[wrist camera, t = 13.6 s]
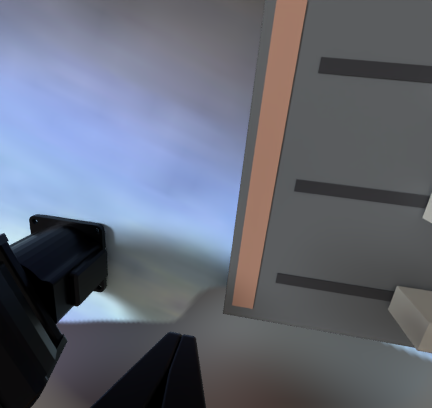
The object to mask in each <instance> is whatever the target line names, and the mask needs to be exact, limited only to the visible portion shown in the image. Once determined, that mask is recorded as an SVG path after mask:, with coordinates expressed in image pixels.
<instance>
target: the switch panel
mask: <svg viewBox="0 0 432 408" xmlns="http://www.w3.org/2000/svg"><path fill="white" fill-rule="evenodd" d="M431 194H432V0H265V7H264V14H263V21H262V29H261V36H260V44H259V51H258V58H257V66H256V73H255V81H254V88H253V95H252V103H251V110H250V118H249V125H248V132H247V140H246V147H245V155H244V162H243V170H242V177H241V184H240V192H239V199H238V207H237V214H236V221H235V229H234V236H233V244H232V251H231V258H230V266H229V273H228V281H227V288H226V296H225V303H224V310H223V314H228V315H234V316H240V317H245V318H251V319H257V320H262V321H268V322H273V323H280V324H285V325H290V326H296V327H302V328H308V329H313V330H319V331H324V332H330V333H335V334H342V335H347V336H353V337H358V338H364V339H370V340H375V341H381V342H386V343H392V344H397V345H403V346H409V347H414V345H413V344H412V343H411V341H410V340H409V338H408V337H407V336H406V334H405V333H404V331H403V330H402V329H401V327H400V326H399V324H398V323H397V322H396V320H395V319H394V317H393V316H392V315H391V313H390V312H389V310H388V308H389V305H390V303H391V300H392V298H393V295H394V292H395V290H396V287H397V286H402V287H408V288H415V289H421V290H427V291H432V223H430V222H429V221H427V220H425V219H423V215H424V212H425V210H426V207H427V204H428V202H429V199H430V196H431ZM414 348H415V347H414Z"/></svg>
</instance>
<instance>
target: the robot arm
mask: <svg viewBox="0 0 432 408" xmlns="http://www.w3.org/2000/svg"><path fill="white" fill-rule="evenodd" d="M36 220H37V221H36ZM29 222H30V230H31V235H29V236H27V237H25V238H23V239H21V240H19V241H17V242H15V243H13V244H11V245H9V244H8V242H7V241H9V240H8V239H7V237H6V235H5V234H4V233H3V234H0V408H30V407H32V406H33V404H34V403H35V402H36V400H37V399H38V398H39V396H40V394H41V393H42V391H43V389H44V388H45V386H46V383H47V382H48V380H49V377H50V375H51V373H52V371H53V369H54V367H55V365H56V363H57V361H58V359H59V357H60V355H61V353H62V351H63V349H64V347H65V345H66V343H67V339H66V337H65V336H64V334H61V332H60V331H59V329H58V327H57V325H56V324H57V323H58V322H59V320H60V319H61V318H62V317H63V316H64V315H65V314H66V313H67V312H68V311H69V310H70V309H71V308H72V307H73V306H79V305H80V304H81V303H82V302H83V301H84V300H85V299H86V298H87V297H88V296H89V295H90V294H91V293H92V292H93V291H96V292H102V291H103V290H104V289H105V288H106V286H107V284H106V277H107V275H108V273H107V251H106V249H105V230H104V227H103V226H102V225H101V224H98V223H91V222H85V221H78V220H71V219H65V218H58V217H52V216H45V215H38V214H36V215H33V216H31V217H30V219H29ZM96 228H97V229H98V230H99V232H98V231H97V230H96ZM99 285H100V286H101V287H100V286H99ZM90 408H206V405H205V398H204V391H203V384H202V378H201V370H200V364H199V357H198V350H197V343H196V338H195V337H194V336H190V335H185V334H184V335H181V334H179V333H174V332H169V333H167V334H166V335H165V336H164V337H163V338H162V339H161V340H160V341H159V342H158V343H157V344H156V345H155V346H154V347H153V348H152V349H150V350H149V351H148V352H147V353H146V354H145V355H144V356H143V357H142V358H141V359H140V360H139V361H138V362H137V363H136V364H135V365H134V366H133V367H132V368H131V369H130V370H129V371H128V372H127V373H126V374H125V375H124V376H123V377H122V378H120V380H118V381H117V382H116V383H115V384H114V385H113V386H112V387H111V388H110V389H109V390H108V391H107V392H106V393H105V394H104V395H103V396H102V397H101V398H100V399H99V400H98V401H97V402H96V403H94V404H93V405H92V406H91V407H90Z"/></svg>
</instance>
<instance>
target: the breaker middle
mask: <svg viewBox="0 0 432 408" xmlns="http://www.w3.org/2000/svg"><path fill="white" fill-rule="evenodd" d="M423 219H425V220H427V221H429V222H430V223H432V194H431V196H430V199H429V202H428V204H427V207H426V210H425V212H424V215H423Z"/></svg>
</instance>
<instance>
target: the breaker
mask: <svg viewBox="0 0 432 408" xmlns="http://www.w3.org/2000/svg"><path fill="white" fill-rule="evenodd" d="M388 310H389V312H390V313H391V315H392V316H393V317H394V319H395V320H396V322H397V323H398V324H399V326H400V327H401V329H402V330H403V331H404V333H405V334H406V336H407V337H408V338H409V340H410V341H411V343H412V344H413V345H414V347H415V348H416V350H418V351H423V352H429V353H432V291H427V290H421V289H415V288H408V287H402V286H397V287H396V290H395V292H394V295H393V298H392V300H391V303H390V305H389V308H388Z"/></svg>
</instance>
